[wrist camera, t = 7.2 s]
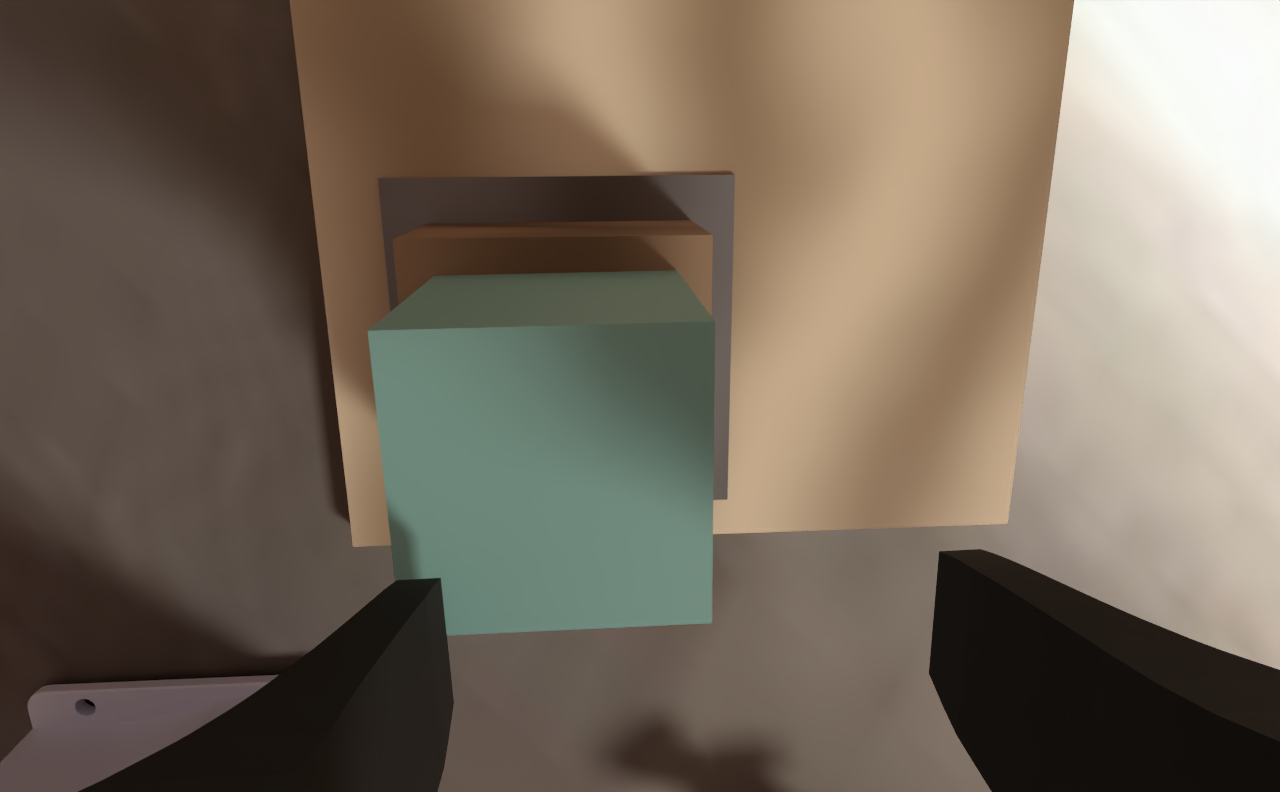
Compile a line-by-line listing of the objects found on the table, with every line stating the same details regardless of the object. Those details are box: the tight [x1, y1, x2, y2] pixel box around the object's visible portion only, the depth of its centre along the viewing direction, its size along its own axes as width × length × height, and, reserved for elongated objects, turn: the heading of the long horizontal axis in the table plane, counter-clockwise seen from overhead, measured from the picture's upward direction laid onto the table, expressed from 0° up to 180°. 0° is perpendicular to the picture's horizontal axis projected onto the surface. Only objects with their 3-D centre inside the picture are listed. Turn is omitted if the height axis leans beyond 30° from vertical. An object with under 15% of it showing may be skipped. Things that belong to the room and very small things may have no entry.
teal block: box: [368, 270, 715, 635], centre depth 14 cm, size 5×5×5 cm
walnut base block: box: [393, 220, 713, 316], centre depth 18 cm, size 6×6×4 cm
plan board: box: [289, 0, 1074, 547], centre depth 20 cm, size 17×15×1 cm
